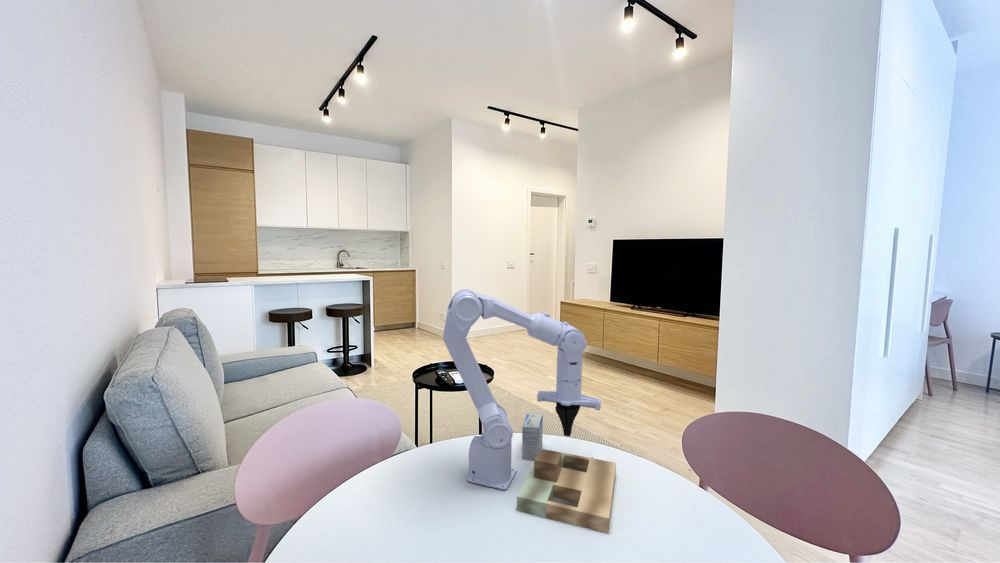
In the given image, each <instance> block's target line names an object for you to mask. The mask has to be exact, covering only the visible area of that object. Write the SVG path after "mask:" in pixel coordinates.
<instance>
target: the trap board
mask: <svg viewBox="0 0 1000 563" xmlns="http://www.w3.org/2000/svg"><path fill="white" fill-rule="evenodd" d="M542 449H543V450H548V451H553V452H558V453H562V456H561V472H560V475H559V477H558V480H557V482H552V481H547V480H543V479H538V478H534V463H532V466H531V468H530V469H529V471H528V473H527V476H526V478H525V480H524V482H523V484H522V486H521V488H520V490H519V492H518V494H517V495H516V511H517V512H522V513H526V514H529V515H533V516H536V517H541V518H545V519H549V520H554V521H557V522H562V523H565V524H570V525H573V526H576V527H577V526H578V527H581V528H585V529H589V530H593V531H596V532H597V531H598V532H601V533H604V534H609V532H610V525H611V515H612V508H613V499H614V491H615V483H616V474H617V473H616V472H617V470H616V469H617V462H612V461H610V460H603V459H599V458H592V457H588V456H582V455H577V454H572V453H566V452H561V451H556V450H552V449H545V448H542Z"/></svg>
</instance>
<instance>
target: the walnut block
mask: <svg viewBox="0 0 1000 563" xmlns="http://www.w3.org/2000/svg"><path fill="white" fill-rule="evenodd" d="M543 449H544V448H542V449H540V450H539V452H538V454H537V456H536V458H535V460H533V464H534V478H538V479H543V480H547V481H552V482H557V480H558V477H559V475H560V472H561V456H562V453H563V452H562V453H558V452H559V451H557V452H553V451H554V450H552V451H548V450H549V449H546V450H543Z"/></svg>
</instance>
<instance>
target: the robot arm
mask: <svg viewBox="0 0 1000 563" xmlns="http://www.w3.org/2000/svg"><path fill="white" fill-rule="evenodd" d="M446 309H447V310H446V317H445V322H444V328H443V334H442V336H443V337H442V340H443V342H444V344H445V347H446V349H447V351H448V353H449V354H450V357H451V358H452V361H453V363H454V366H455V367H456V370H457V371H458V374H459V376H460V377H461V380H462V382H463V384H464V386H465V388H466V390H467V392H468V394H469V396H470V398H471V400H472V403H473V404H474V407H475V409H476V411H477V414H478V416H479V420H480V423H481V425H482V429H483V431H482V432H481V435H474V436H473V438H472V440H471V441H470V444H469V449H468V477H467V479H466V481H467V482H468V483H473V484H477V485H482V486H485V487H489V488H493V489H498V490H503V491H507V490H508V488H509V487H510V485H511V483H512V481H513V479H514V477H515V475H516V473H517V470H518V469H516V468H512V443H513V442H512V439H513V434H514V433H513V428H512V426H511V425H510V421H509V419H508V416H507V412H506V410H505V409H504V407H502V406H501V405H500V404H499V403H498V402H497V400H496V397H495V396H494V394H493V393H492V391H491V389H490V386H489V385H488V382H487V380H486V378H485V375H484V374H483V371H482V370H481V366H480V365H479V363H478V361H477V359H476V357H475V354H474V352H473V350H472V348H471V346H470V344H469V342H468V339H467V337H468V334H469V332H470V330H471V327H473V325H474V324H475V323H476V322H477V321H478V320H479V319H480V317H481V318H482V320H487V319H491V318H494V317H495V318H499V319H500V320H503V321H505V322H509V323H512V324H514V325H517V326H520V327H522V328H525V329H526V332H527V334H528V336H529V337H531V338H533V339H536V340H539V341H541V342H542V343H545V344H547V345H549V346H550V345H551V346H553V347H557V356H556V360H557V361H556V384H555V385H556V386H555V387H556V388H555V390H556V391H552V390H551V391H549V390H548V391H547V390H539V391H538V392H537V393H536V394H537V395H536V400H537V402H540V403H542V402H547V403H553V404H555V403H556V404H555V412H556V413H557V416H558V418H559V420H560V422H561V426H562V431H563V436H565V437H571V436H572V435H571V434H572V430H573V425H574V423H575V422H574V421H575V420H576V417H577V415H578V414H579V412H580V409H581V408H587V409H589V408H590V409H594V410H595V411H601V406H602V399H601V398H597V397H591V396H590V395H589V396H588V395H584V394H582V379H583V378H582V376H583V352H584V351H585V350H586V349H587V345H588V341H586V337H585V335H584V334H583V332H582V331H580V330H579V329H577V328H576V327H575V326H573V325H571V324H570V323H569V322H567V321H564V320H563V321H560V320H557V319H556V318H553V317H551V314H550V313H548V312H545V311H543V313H541V312H536V313H533V314H529V313H527V312H525V311H523V310H520V309H518V308H516V307H514V306H512V305H509V304H508V303H506V302H503V301H501V300H500V299H496V298H494V297H492V296H488V295H486V294H484V293H480V292H477V293H475V292H474V291H473V290H470V289H461V290H457V292H456V293H454V294H453V296H452V298H451V300H450V302H449V304H448V305H447V308H446Z"/></svg>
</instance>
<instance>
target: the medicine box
mask: <svg viewBox="0 0 1000 563" xmlns="http://www.w3.org/2000/svg"><path fill="white" fill-rule="evenodd" d="M543 420H544V419H543V414H538V413H537V414H535V413H526V416H525V418H524V423H523V425H522V427H521V428H522V432H521V433H522V435H521V438H522V439H521V440H522V444H521V449H522V452H521V453H522V454H521V455H522V457H521V458H522V459H525V460H532V461H534V460H535V458H536V456H537V454H538V452H539V450H540V449H543V425H544V424H543V423H544V421H543Z"/></svg>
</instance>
